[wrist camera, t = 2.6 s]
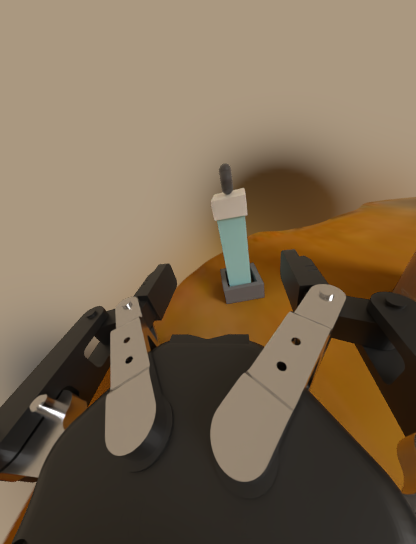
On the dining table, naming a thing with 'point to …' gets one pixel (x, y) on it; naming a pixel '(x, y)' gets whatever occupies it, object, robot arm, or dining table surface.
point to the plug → (232, 228)
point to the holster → (243, 287)
